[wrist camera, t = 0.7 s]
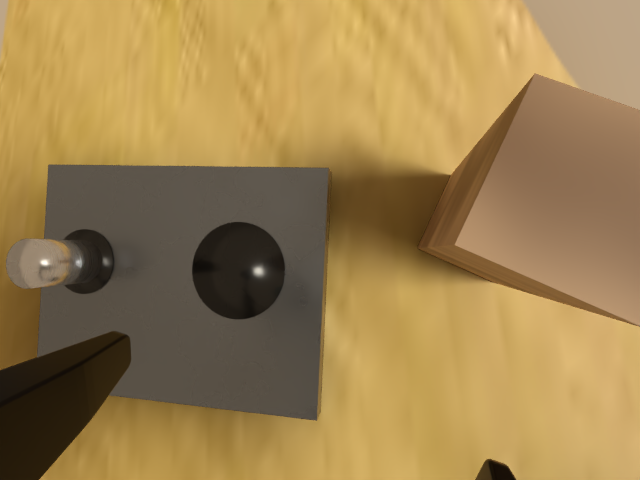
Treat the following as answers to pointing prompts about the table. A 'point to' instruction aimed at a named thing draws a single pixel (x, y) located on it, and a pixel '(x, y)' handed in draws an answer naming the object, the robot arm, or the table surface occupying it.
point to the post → (550, 201)
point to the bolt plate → (189, 279)
